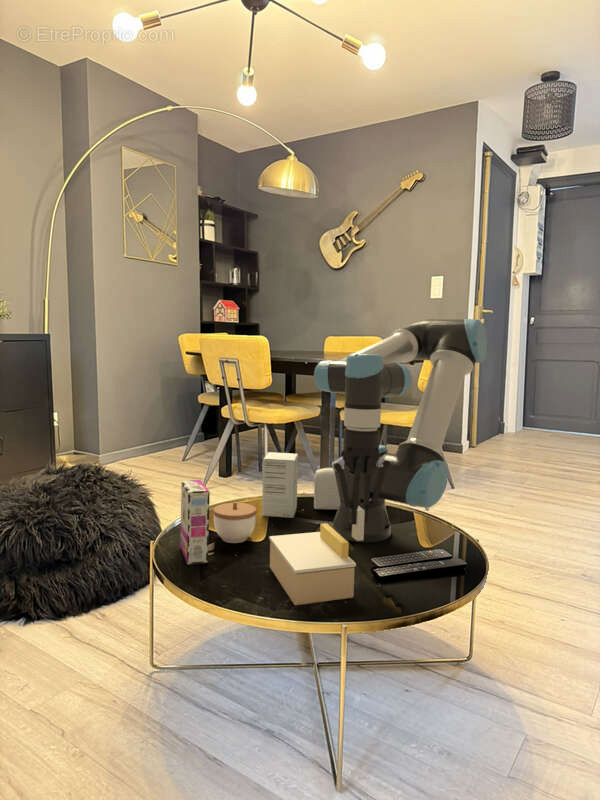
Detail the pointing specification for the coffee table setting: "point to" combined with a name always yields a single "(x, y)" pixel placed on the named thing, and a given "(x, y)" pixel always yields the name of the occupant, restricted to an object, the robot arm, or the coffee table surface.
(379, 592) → the coffee table surface
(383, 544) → the coffee table surface
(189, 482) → the candy bar box
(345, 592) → the mailer box
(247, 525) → the lidded jar
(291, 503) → the supplement box
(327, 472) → the photo printer
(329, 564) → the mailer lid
